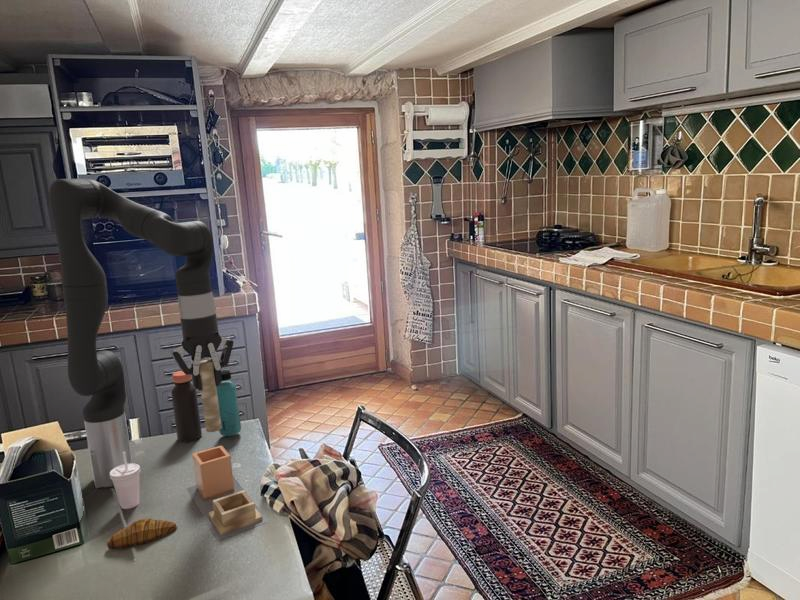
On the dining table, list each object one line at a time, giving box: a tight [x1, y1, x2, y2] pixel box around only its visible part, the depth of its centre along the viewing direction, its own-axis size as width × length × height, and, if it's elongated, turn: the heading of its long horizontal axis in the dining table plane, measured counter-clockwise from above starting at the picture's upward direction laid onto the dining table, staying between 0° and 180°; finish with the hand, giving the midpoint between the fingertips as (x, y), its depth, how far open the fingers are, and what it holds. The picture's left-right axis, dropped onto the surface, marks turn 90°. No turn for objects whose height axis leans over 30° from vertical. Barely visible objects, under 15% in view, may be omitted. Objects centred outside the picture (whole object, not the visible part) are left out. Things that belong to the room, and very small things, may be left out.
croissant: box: [106, 518, 178, 550], centre depth 120 cm, size 14×7×5 cm, turn 113°
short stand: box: [208, 489, 262, 535], centre depth 126 cm, size 9×9×4 cm
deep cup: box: [191, 444, 234, 500], centre depth 137 cm, size 7×7×9 cm
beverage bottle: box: [216, 369, 242, 437], centre depth 168 cm, size 6×7×20 cm
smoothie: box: [110, 452, 141, 510], centre depth 133 cm, size 6×6×14 cm
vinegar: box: [170, 370, 203, 443], centre depth 169 cm, size 7×7×20 cm
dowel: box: [199, 359, 222, 433], centre depth 131 cm, size 3×3×16 cm
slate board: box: [186, 475, 270, 542], centre depth 132 cm, size 11×26×1 cm, turn 33°
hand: (208, 387), depth 130 cm, fingers closed on dowel, 3 cm apart
